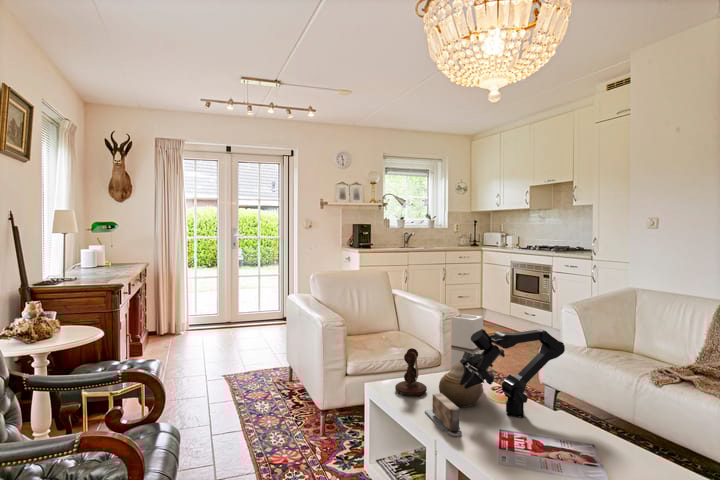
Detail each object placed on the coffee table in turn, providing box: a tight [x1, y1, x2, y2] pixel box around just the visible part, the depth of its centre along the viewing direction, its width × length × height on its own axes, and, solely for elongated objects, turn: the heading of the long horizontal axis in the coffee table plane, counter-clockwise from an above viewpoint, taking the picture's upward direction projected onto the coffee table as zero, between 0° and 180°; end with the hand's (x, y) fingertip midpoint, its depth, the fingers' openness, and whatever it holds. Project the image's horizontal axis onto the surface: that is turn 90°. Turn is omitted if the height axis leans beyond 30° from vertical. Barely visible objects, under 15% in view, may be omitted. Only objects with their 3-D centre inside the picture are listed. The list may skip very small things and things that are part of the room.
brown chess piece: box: [394, 348, 428, 398], centre depth 206 cm, size 15×15×20 cm
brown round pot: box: [438, 363, 483, 408], centre depth 194 cm, size 20×17×17 cm
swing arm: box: [431, 392, 460, 431], centre depth 171 cm, size 18×4×8 cm, turn 14°
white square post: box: [450, 313, 484, 389], centre depth 211 cm, size 11×11×35 cm
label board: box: [424, 409, 461, 432], centre depth 175 cm, size 18×7×1 cm, turn 14°
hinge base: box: [447, 429, 463, 438], centre depth 163 cm, size 5×5×1 cm
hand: (462, 386), depth 176 cm, fingers open, 4 cm apart
